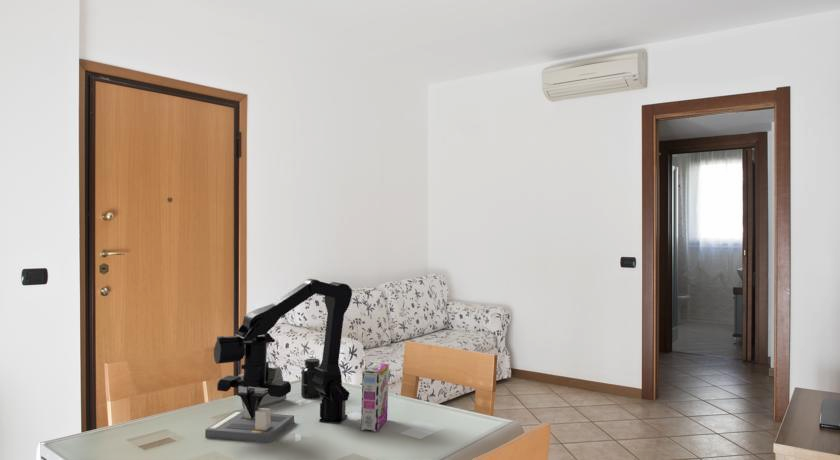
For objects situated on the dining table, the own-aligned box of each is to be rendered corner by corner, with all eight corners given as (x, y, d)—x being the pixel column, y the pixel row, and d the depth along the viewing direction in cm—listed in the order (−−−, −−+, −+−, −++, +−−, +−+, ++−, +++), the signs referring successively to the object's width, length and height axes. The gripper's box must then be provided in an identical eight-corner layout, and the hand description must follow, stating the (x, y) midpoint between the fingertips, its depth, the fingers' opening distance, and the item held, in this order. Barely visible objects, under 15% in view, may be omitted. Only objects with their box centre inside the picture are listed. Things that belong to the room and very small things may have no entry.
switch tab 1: (258, 415, 161) (259, 398, 161) (254, 418, 158) (254, 401, 158) (249, 414, 161) (249, 397, 161) (244, 417, 158) (244, 400, 158)
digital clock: (243, 412, 170) (243, 377, 170) (231, 405, 177) (231, 371, 177) (292, 402, 180) (292, 369, 180) (279, 396, 187) (279, 364, 187)
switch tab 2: (270, 426, 151) (270, 408, 151) (265, 430, 149) (266, 412, 149) (260, 426, 152) (260, 408, 152) (255, 429, 149) (255, 411, 149)
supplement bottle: (297, 398, 185) (298, 361, 185) (305, 392, 192) (306, 357, 192) (317, 399, 184) (318, 362, 184) (324, 393, 191) (325, 358, 191)
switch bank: (294, 422, 161) (294, 415, 161) (269, 442, 146) (269, 434, 146) (235, 417, 165) (236, 410, 165) (205, 437, 149) (205, 429, 149)
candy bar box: (378, 432, 154) (378, 372, 154) (360, 431, 155) (361, 371, 155) (388, 419, 165) (389, 363, 165) (372, 418, 166) (372, 362, 166)
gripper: (300, 356, 157) (298, 412, 157) (238, 350, 161) (236, 405, 161) (283, 365, 146) (280, 425, 146) (217, 359, 150) (214, 418, 150)
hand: (252, 418), depth 151 cm, fingers closed
